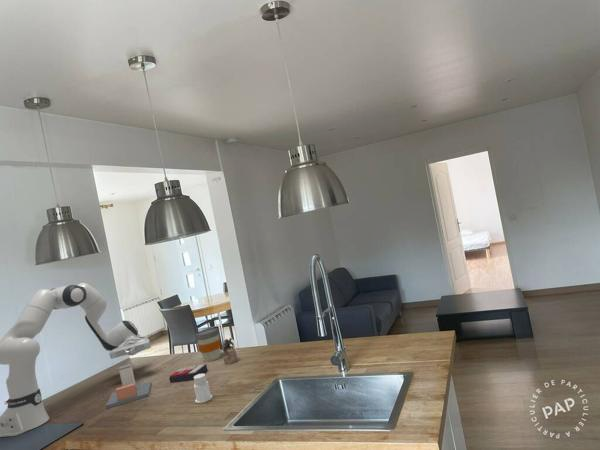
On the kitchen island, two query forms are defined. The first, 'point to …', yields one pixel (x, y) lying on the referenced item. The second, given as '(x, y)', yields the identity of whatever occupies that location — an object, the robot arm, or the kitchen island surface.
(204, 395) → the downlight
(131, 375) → the beige rectangular block
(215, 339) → the reusable coffee cup
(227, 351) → the figurine
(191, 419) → the kitchen island surface
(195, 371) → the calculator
